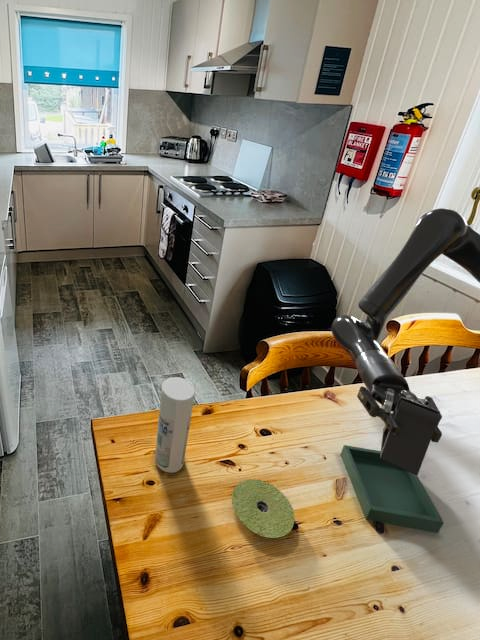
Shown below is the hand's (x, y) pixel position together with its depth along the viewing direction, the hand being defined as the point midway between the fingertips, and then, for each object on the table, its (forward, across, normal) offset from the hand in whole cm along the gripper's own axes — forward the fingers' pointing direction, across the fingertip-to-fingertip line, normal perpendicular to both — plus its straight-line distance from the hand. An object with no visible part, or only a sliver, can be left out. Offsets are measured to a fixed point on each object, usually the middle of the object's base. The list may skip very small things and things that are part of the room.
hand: (417, 435), depth 73 cm
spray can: (+1, -44, +17) cm, 47 cm away
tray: (-1, 0, +17) cm, 17 cm away
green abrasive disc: (+9, -26, +17) cm, 32 cm away
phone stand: (-2, 0, +7) cm, 8 cm away
